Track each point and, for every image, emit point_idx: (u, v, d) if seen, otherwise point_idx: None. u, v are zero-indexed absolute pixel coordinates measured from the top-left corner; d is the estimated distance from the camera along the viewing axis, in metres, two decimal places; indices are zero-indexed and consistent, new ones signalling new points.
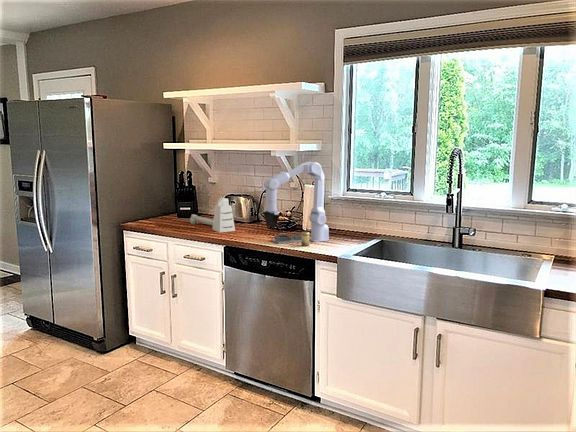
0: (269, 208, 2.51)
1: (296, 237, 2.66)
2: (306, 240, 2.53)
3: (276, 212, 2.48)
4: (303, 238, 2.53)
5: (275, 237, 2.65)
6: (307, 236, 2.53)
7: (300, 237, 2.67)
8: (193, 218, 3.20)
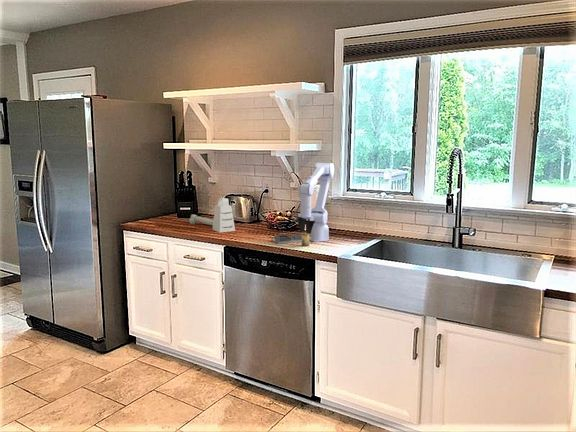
0: (304, 214, 2.50)
1: (296, 237, 2.66)
2: (306, 240, 2.53)
3: (311, 218, 2.46)
4: (303, 238, 2.53)
5: (275, 237, 2.65)
6: (307, 236, 2.53)
7: (300, 237, 2.67)
8: (193, 218, 3.20)
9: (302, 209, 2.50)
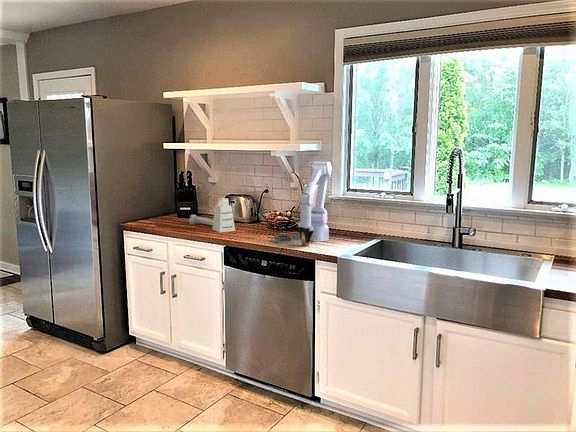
0: (304, 224, 2.51)
1: (296, 237, 2.66)
2: None
3: (311, 228, 2.47)
4: (303, 238, 2.53)
5: (275, 237, 2.65)
6: None
7: (300, 237, 2.67)
8: (192, 218, 3.19)
9: (302, 219, 2.51)
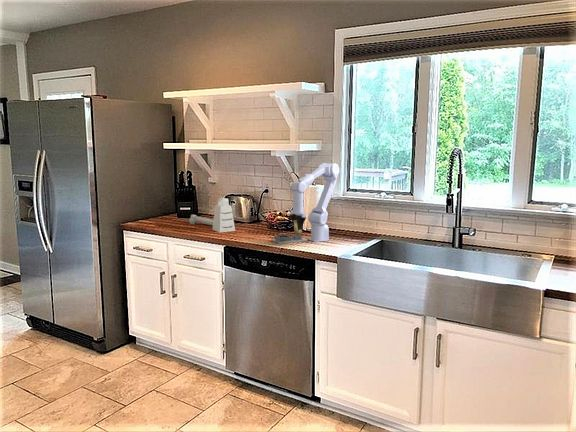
0: (296, 211, 2.53)
1: (296, 237, 2.66)
2: None
3: (304, 215, 2.50)
4: (295, 225, 2.55)
5: (275, 237, 2.65)
6: None
7: (300, 237, 2.67)
8: (193, 218, 3.20)
9: (294, 206, 2.53)
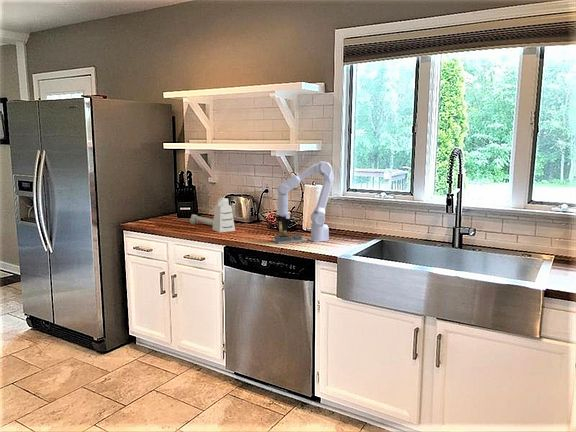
0: (281, 212, 2.60)
1: (296, 237, 2.66)
2: None
3: (288, 216, 2.56)
4: (280, 227, 2.62)
5: (275, 237, 2.65)
6: None
7: (300, 237, 2.67)
8: (193, 218, 3.20)
9: (279, 207, 2.60)
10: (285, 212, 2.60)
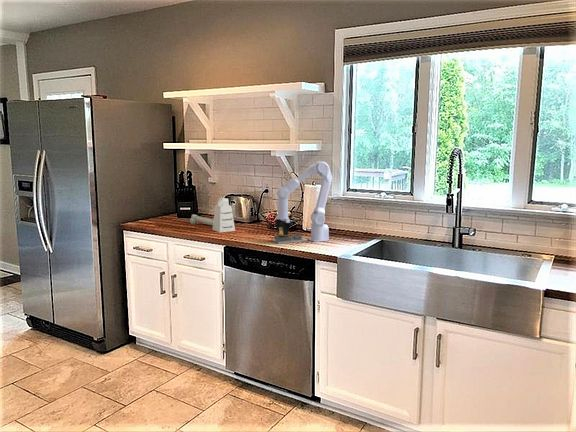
0: (281, 216, 2.60)
1: (296, 237, 2.66)
2: (283, 234, 2.62)
3: (288, 220, 2.57)
4: (280, 233, 2.63)
5: (275, 237, 2.65)
6: None
7: (300, 237, 2.67)
8: (193, 218, 3.20)
9: (279, 211, 2.60)
10: (285, 216, 2.61)
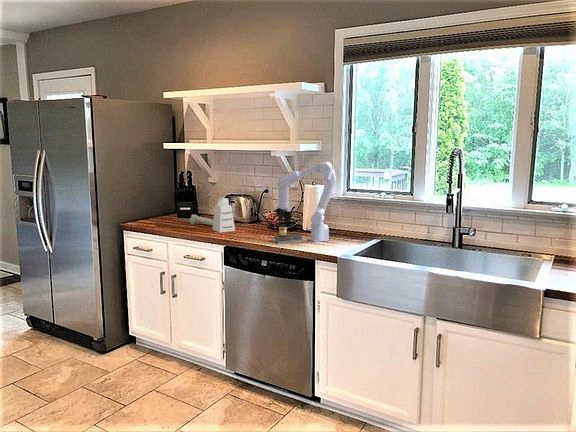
0: (282, 205, 2.67)
1: (296, 237, 2.66)
2: (283, 234, 2.62)
3: (288, 209, 2.64)
4: (280, 233, 2.63)
5: (275, 237, 2.65)
6: (284, 231, 2.62)
7: (300, 237, 2.67)
8: (193, 218, 3.20)
9: (280, 200, 2.67)
10: (286, 205, 2.68)
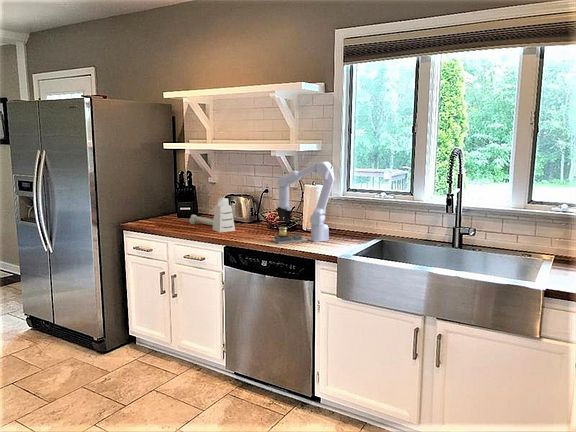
0: (282, 204, 2.71)
1: (296, 237, 2.66)
2: (283, 234, 2.62)
3: (288, 208, 2.67)
4: (280, 233, 2.63)
5: (275, 237, 2.65)
6: (284, 231, 2.62)
7: (300, 237, 2.67)
8: (193, 218, 3.19)
9: (280, 200, 2.71)
10: (286, 204, 2.71)
